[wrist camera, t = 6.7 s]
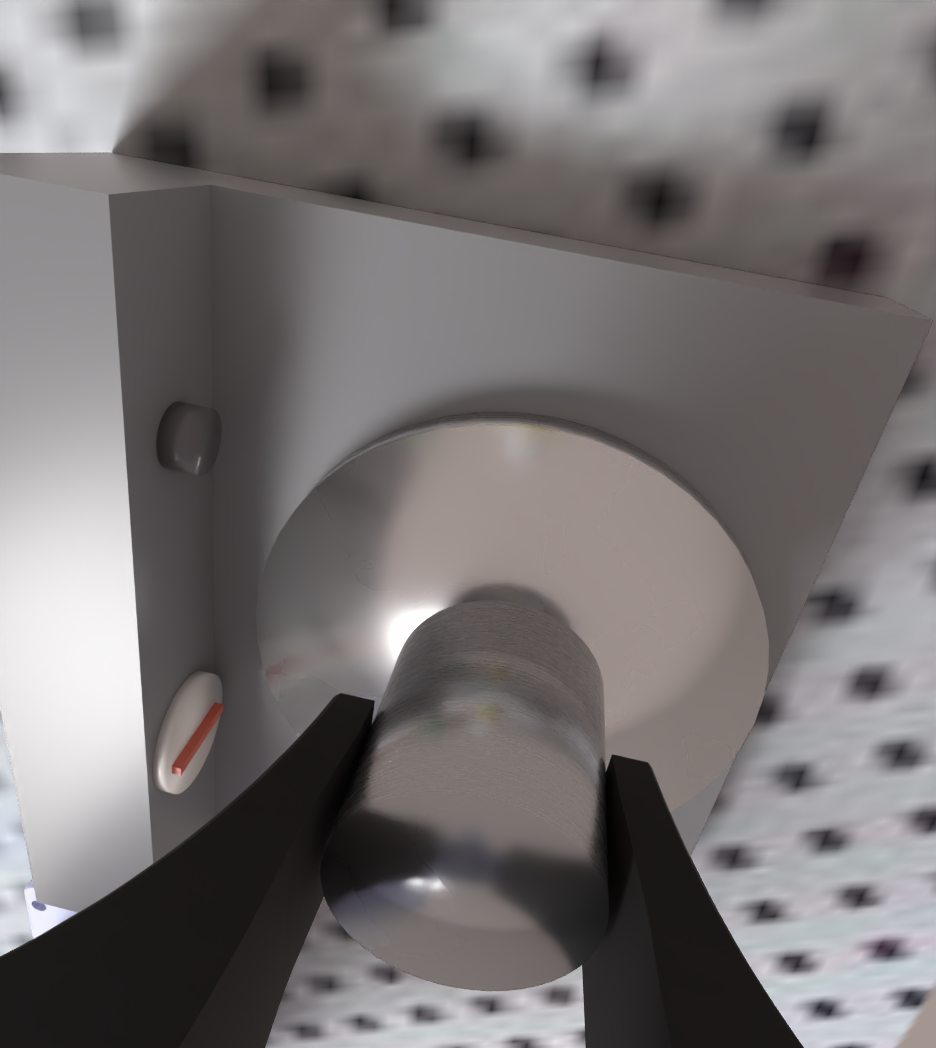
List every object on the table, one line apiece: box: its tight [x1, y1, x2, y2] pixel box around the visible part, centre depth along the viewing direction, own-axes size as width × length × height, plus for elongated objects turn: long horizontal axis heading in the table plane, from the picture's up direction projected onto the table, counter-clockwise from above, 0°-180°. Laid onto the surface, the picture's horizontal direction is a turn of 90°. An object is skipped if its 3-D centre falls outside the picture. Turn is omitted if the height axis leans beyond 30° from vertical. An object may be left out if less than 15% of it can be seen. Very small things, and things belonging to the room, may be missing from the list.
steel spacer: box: [320, 600, 609, 991], centre depth 12 cm, size 4×4×4 cm
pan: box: [256, 412, 769, 812], centre depth 15 cm, size 10×10×1 cm
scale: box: [0, 153, 933, 912], centre depth 15 cm, size 16×15×5 cm
